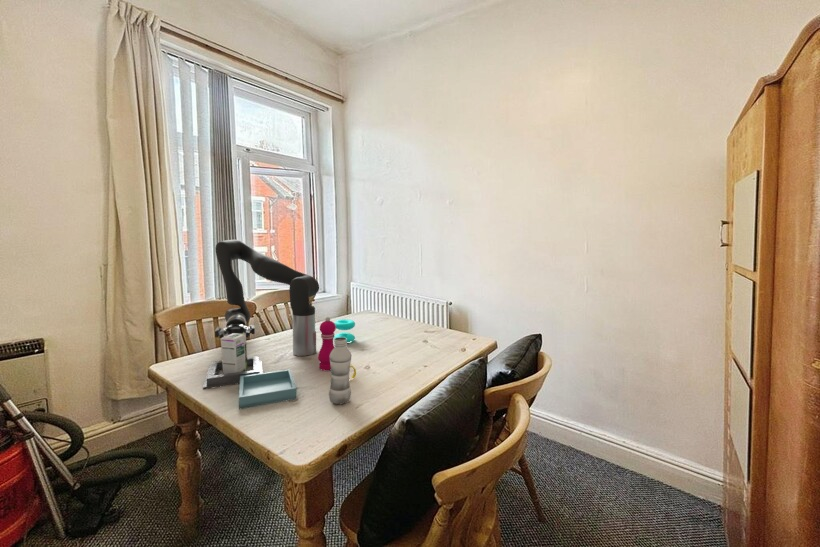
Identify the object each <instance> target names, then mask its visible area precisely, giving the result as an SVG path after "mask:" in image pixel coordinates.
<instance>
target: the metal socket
mask: <svg viewBox="0 0 820 547" xmlns="http://www.w3.org/2000/svg"><path fill="white" fill-rule="evenodd" d="M249 367H252V368H253V369H252V370H251V369H250V370H247V371H243V372H236V373H228V374H223V373H222V374H218V371H223V363H222V359H221V360H215V361H211V363H210V366H209V367H208V369H207V373H206V376H205V380H204V383H203V386H202V389H203V388H208V389H212V388H211V387H215V388H220V386H221V387H226V386H233V385H234V386H235V385H240V376H244V375H252V374H259V373H264V372H263V361H262V360H260V356H259V355H256V356H249V357H248V356H247V368H249Z"/></svg>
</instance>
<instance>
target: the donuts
mask: <svg viewBox="0 0 820 547" xmlns="http://www.w3.org/2000/svg"><path fill="white" fill-rule="evenodd" d="M334 323H335V325H336V330H339V331H349V330H352V329H353V328H355V326H356V323H355V321H354V320H352V319H347V318H346V319H337V320H336V321H334ZM338 337H344V338H346V339H347V342H350V341H353V340H354V339H355V340H356V337H355V335H354V334H353V333H351V332H340V333H337V334H335V335H334V338H333V340H334V339H335V338H338ZM355 340H354V341H355ZM354 341H353V342H354Z"/></svg>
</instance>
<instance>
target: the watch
mask: <svg viewBox="0 0 820 547" xmlns="http://www.w3.org/2000/svg"><path fill="white" fill-rule="evenodd" d="M350 368H352V369H353V374H352V376H351V377H352V378H354V379H355V378H356V375H357V371H356V368H355V367H354V365H352V363H350Z"/></svg>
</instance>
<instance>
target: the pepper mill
mask: <svg viewBox="0 0 820 547" xmlns="http://www.w3.org/2000/svg"><path fill="white" fill-rule="evenodd" d="M319 330H320V333H321V334H320V338H321V339H322V343H321V347H320V350H319V352H318V355H317V356H318V357H317V359H318V361H319V370H321V369H322V370H321V371H324V370H329V371H331V370H330V369H331V365H330V353H331V352H332V350H333V349H334V347H335V346H334V337H335V331H336V330H337V329H336V325H335V321H332V320H331V317H329V316H327V317H326V318H325V320H324V321H322V323H320V324H319Z"/></svg>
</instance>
